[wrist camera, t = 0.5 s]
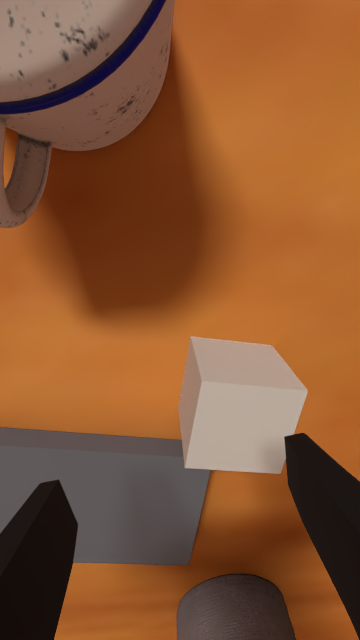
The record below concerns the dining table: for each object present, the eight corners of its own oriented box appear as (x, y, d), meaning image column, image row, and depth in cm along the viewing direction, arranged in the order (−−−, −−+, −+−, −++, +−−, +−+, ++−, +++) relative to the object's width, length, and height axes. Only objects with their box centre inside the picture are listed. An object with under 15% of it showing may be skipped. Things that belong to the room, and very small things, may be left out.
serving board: (209, 442, 22) (213, 459, 20) (186, 544, 25) (188, 565, 24) (-10, 426, 20) (-23, 443, 19) (-3, 538, 23) (-13, 560, 22)
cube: (271, 344, 19) (307, 390, 15) (253, 413, 21) (280, 473, 16) (190, 335, 19) (201, 381, 14) (178, 406, 21) (184, 468, 16)
